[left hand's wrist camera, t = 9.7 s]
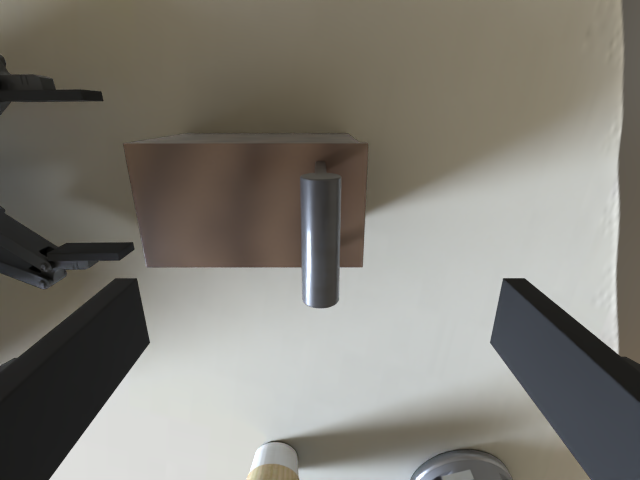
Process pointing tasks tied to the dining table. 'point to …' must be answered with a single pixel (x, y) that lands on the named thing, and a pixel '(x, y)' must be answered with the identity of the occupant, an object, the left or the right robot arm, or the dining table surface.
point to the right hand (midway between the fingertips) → (111, 179)
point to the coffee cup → (274, 463)
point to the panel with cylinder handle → (253, 207)
